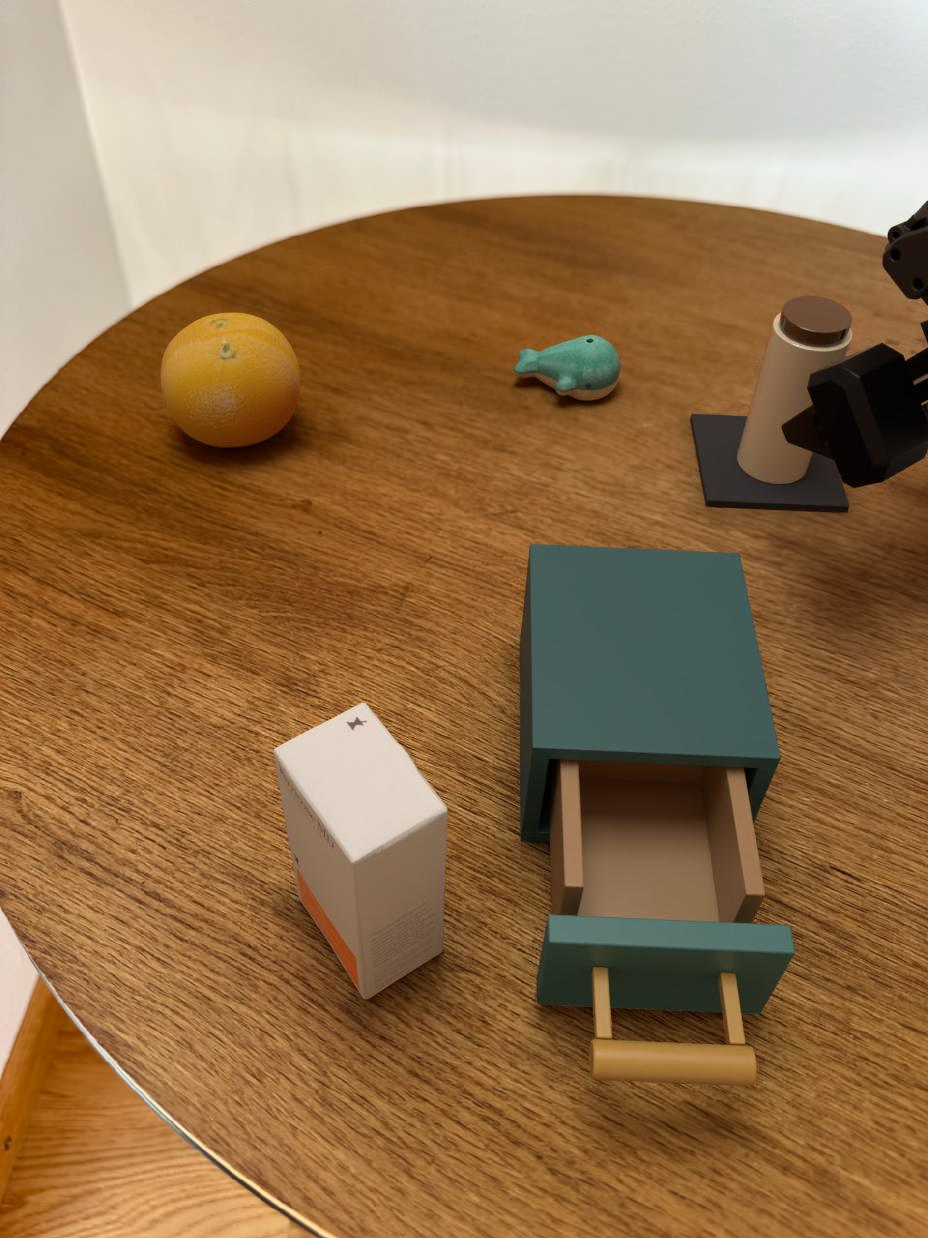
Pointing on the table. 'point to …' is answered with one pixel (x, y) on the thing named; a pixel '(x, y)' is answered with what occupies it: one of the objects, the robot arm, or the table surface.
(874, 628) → the table surface
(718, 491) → the mat
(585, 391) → the whale figurine
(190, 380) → the fruit
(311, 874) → the cosmetic box
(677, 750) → the cabinet
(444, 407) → the table surface
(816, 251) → the table surface
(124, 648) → the table surface
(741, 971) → the drawer
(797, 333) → the spice jar
